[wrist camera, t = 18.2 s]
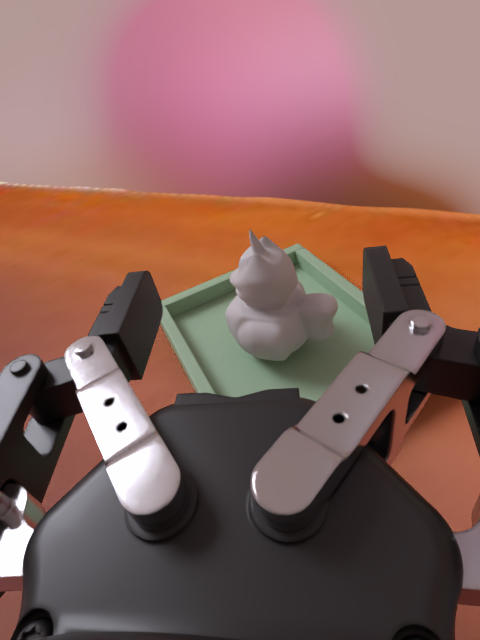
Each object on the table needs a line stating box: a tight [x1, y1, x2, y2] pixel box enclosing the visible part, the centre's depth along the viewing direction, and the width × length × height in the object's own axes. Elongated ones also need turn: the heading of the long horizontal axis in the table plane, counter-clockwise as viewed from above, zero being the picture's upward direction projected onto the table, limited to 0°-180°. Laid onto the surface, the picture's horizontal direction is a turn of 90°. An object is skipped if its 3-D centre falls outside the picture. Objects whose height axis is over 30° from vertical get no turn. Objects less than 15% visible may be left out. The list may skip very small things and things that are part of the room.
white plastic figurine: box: [225, 229, 338, 361], centre depth 23 cm, size 5×7×8 cm
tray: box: [160, 244, 375, 401], centre depth 25 cm, size 15×12×2 cm
